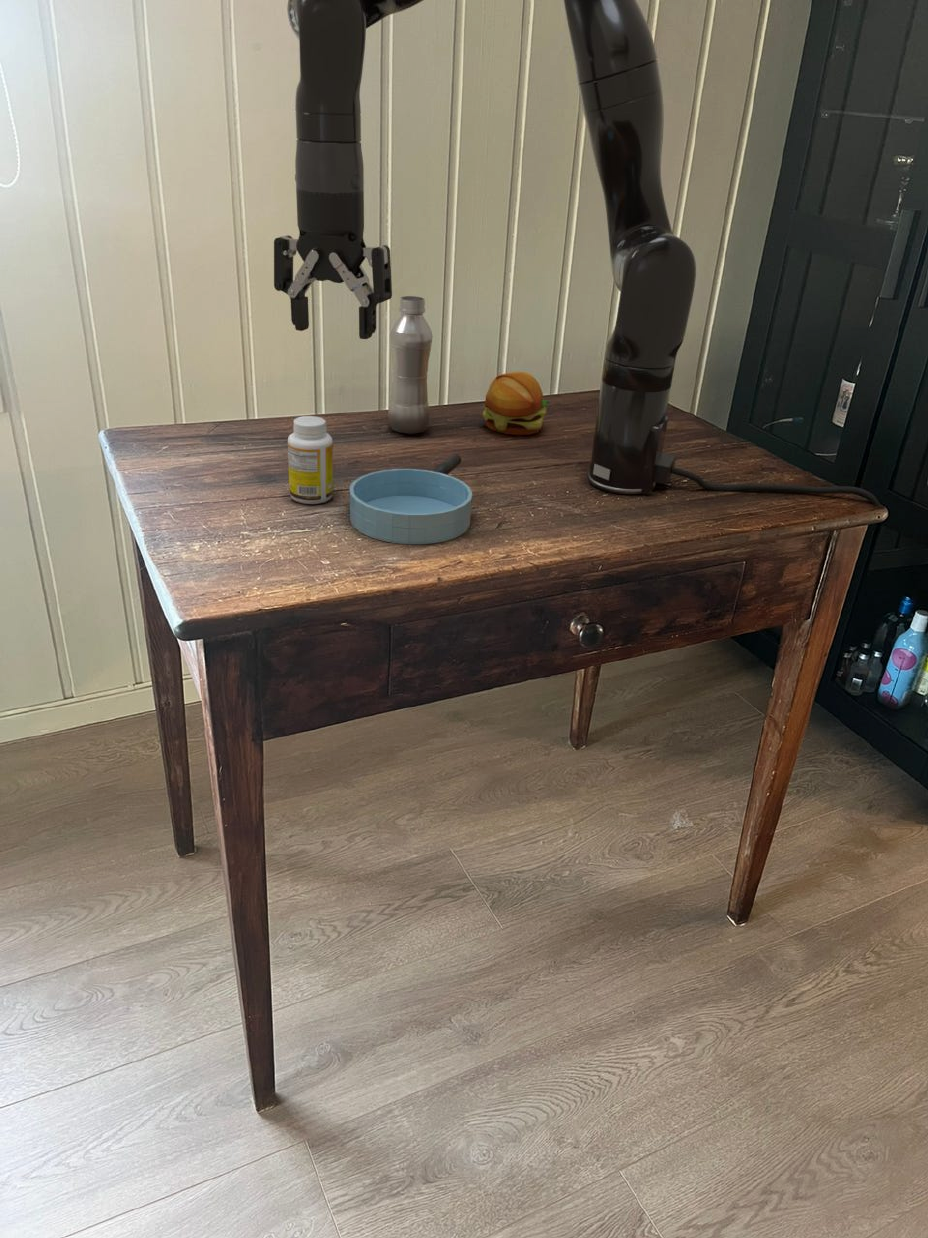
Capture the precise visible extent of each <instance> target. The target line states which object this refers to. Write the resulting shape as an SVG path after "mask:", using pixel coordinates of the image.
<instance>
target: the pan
mask: <svg viewBox="0 0 928 1238" xmlns="http://www.w3.org/2000/svg"><path fill="white" fill-rule="evenodd" d="M348 491H349V494H348V503H349V505H348V509H349V510H348V514H349V522H350V524H351V526H352V527H353V528H354V529H355V530H357V532H359V533H360V534H363V535H364V536H366V537H369V538H373V539H375V540H379V541H382V542H387V543H393V544H400V545H429V544H430V545H432V544H437V543H443V542H447V541H451V540H453V539H456V538H458V537H460V536H462V535H463V534H464V533H466V532H467V530H468V529H469V528H470V526H471V521H472V508H473V507H472V506H473V492H472V489H471V487H470V486H469V485H468V484H467V483H465V482H464V481H463V480H461V479H459V478H457V477H455V476H453V475H449V474H447V475H446V474H443V473H439V472H434V471H433V470H429V469H420V468H419V469H418V468H391V469H381V470H377V471H372V472H368V473H367V474H364V475H361V476H359V477H357V478H356V479H355V480H352V483H351V484H350V486H349V489H348Z"/></svg>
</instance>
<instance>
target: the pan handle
mask: <svg viewBox="0 0 928 1238" xmlns="http://www.w3.org/2000/svg"><path fill="white" fill-rule="evenodd" d="M461 463H462V457H461V455H459V454H458V453H454V454H451V455H450V456H449V457H448V458H446V459H445V460H444V461H442V463H440V464H439V465H438V466H436V467H435V468H434V469H432V471H434V472H439V473H443V474H446V475H449V474H450V473H451V472H453V470H454V469H456V468H457V467H458V466H459V465H461Z"/></svg>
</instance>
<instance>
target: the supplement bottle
mask: <svg viewBox="0 0 928 1238" xmlns="http://www.w3.org/2000/svg"><path fill="white" fill-rule="evenodd" d="M292 430H293V432H291V433H290V434H289V435H288V438H287V460H288V461H287V462H288V485H289V486H288V487H289V496H290V497H291V499H292V500H293V501H295V502H297V503H300V504H304V505H319V504H323V503H326V502H328V501H330V500H331V499H332V498H333V495H334V471H333V470H334V462H333V461H334V460H333V459H334V457H333V454H334V453H333V452H334V450H333V447H334V446H333V438H332V436H331V434H329V433H328V432H327V421H326V419H324V418H323V417H320V416H316V415H302V416H297V417H296V418H294V419H293V428H292Z"/></svg>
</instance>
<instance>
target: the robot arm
mask: <svg viewBox="0 0 928 1238" xmlns="http://www.w3.org/2000/svg"><path fill="white" fill-rule="evenodd" d="M424 1H425V0H288V1H287V7H286V8H287V9H286V11H287V19H288V23H289V26H290V28H291V31H292V32H293V33H292V34H294V36H295V37H296V38H297V40H298V43H299V44H298V45H299V48H298V49H299V73H300V75H299V80H298V83H297V85H296V90H295V97H294V98H295V101H294V102H295V103H294V104H295V105H294V107H295V112H294V113H295V133H296V134H295V135H296V136H295V137H296V147H295V148H296V149H295V158H294V164H295V165H294V169H295V170H294V171H295V174H294V180H295V190H296V191H295V193H296V194H295V195H296V197H295V198H296V221H297V228H298V231H299V233H298V234H299V235H298V238H294V237H292V236H291V235H289V234H287V235H282V236H278V237H276V238H275V239H274V240H273V287H274V289H275V290H276V291H277V292H282V293H284V294H286V295H287V296H288V297H289V300H290V320H291V324H292V326H294V329H295V330H296V331H299V332H303V331H305V330H308V329H309V326H310V315H309V312H310V311H309V296H306V293H307V291H308V290H309V289H310V287H311V286H312V285H313V283H314V282H315V281H317V282H325V281H330V282H332V283H335V284H343V283H344V284H345V285H346V287H347V289H348V290H349V291H350V292H352V293H353V294H354V296H355V297H356V300H357V301H358V303H359V304H360V306H358V336H359V337H358V338H359V339H360V340H368V339H371V338H372V336H373V334H374V333H376V331H377V306H378V304H381V303H384V302H386V301H389V300H391V299H392V297H393V283H392V264H391V263H392V262H391V248H390V247H389V246H388V245H387V244H384V245H379V246H367V245H366V243H365V240H364V232H365V188H364V187H365V185H364V184H365V183H364V182H365V176H364V175H365V170H364V169H365V167H364V157H363V150H362V149H363V148H362V115H361V114H362V111H361V84H362V80H363V79H362V78H363V70H364V62H365V53H366V52H365V51H366V50H365V49H366V39H367V38H366V36H367V29H368V28H370V27H372V26H373V25H375V24H377V23H378V22H380V21H381V20H383V19H385V18H386V17H389V16H391V15H394V14H398V13H401V12H404V11H406V10H409V9H411V8H413V7H415V6H417V5H418V4H420V3H422V2H424ZM563 5H564V12H565V18H566V23H567V30H568V34H569V38H570V39H569V40H570V44H571V45H570V46H571V49H572V55H573V61H574V69H575V75H576V80H577V83H578V84H577V87H578V92H579V96H580V103H581V107H582V113H583V116H584V121H585V126H586V129H587V134H588V139H589V143H590V147H591V152H592V155H593V159H594V163H595V167H596V171H597V173H598V178H599V182H600V185H601V189H602V193H603V200H604V206H605V213H606V224H607V231H608V232H607V235H608V245H609V257H610V258H609V259H610V261H609V262H610V270H611V275H612V279H613V282H614V284H615V286H616V288H617V290H618V291H619V293H620V294H619V300H618V307H617V314H616V320H615V325H614V328H613V330H612V332H611V334H609V335H608V337H607V339H606V344H605V352H604V361H603V369H602V375H601V383H600V390H599V398H598V403H597V404H598V405H597V412H596V419H595V427H594V436H593V443H592V450H591V458H590V462H589V463H590V464H589V470H588V474H587V480H588V482H589V483H590V484H591V485H592V486H593V487H595V488H598V489H600V490H602V491H606V492H610V493H614V494H619V495H620V494H621V495H646V496H650V495H651V493H652V491H653V490H654V489H655V488H656V485H657V484H662V485H667V483H668V482H669V480H670V478H671V477H672V474H673V475H675V476H679V477H682V478H686V479H689V480H692V481H694V482H695V483H696V484H697V485H698V486H699V487H701V489H705V490H708V491H714V492H739V491H740V492H743V491H745V492H746V491H766V492H789V493H790V492H791V493H804V494H817V495H818V494H819V495H825V494H827V495H828V494H855V495H857V496H861V497H863V498H865V499H867V501H869V502H870V503H871V504H872V505H876V506H879V505H881V503H880V502H879V500H878V498H877V497H876V496H875V495H874V494H873V493H871V492H870V491H868V490H866V489H864V488H861V487H857V486H848V485H847V486H846V485H844V486H843V485H841V486H808V485H795V484H772V483H771V484H770V483H741V484H740V483H739V484H715V483H711V482H707V481H705V480H704V478H702V477H700V475H698V474H696V473H693V472H691V471H688V470H685V469H682V468H678V467H675V465H676V457H677V454H672V453H665V452H663V450H664V445H665V439H666V435H667V427H668V422H669V417H668V416H667V414H668V413H667V412H668V407H669V402H670V401H669V400H670V394H671V388H672V383H673V377H674V371H675V366H676V365H675V364H676V360H677V354H678V352H679V350H680V348H681V346H682V345H683V342H684V339H685V336H686V333H687V332H686V331H687V327H688V322H689V318H690V312H691V308H692V303H693V298H694V293H695V288H696V287H695V286H696V279H697V263H696V262H697V261H696V258H695V254H694V252H693V250H692V248H691V247H690V246H689V245H688V243H687V242H685V240H683V239H682V238H680V237H678V236H676V235H675V234H674V232H673V230H672V226H671V223H670V219H669V214H668V210H667V206H666V201H665V197H664V192H663V185H662V167H661V166H662V152H663V142H664V141H663V140H664V122H665V119H664V118H665V113H664V112H665V111H664V98H663V96H664V95H663V89H662V81H661V75H660V69H659V63H658V56H657V51H656V46H655V42H654V38H653V35H652V33H651V30H650V27H649V25H648V22H647V20H646V18H645V15H644V14H643V11H642V10H641V8H640V6H639V3H638V1H637V0H563ZM296 254H298V255H299V257H300V258H301V260H302V262H303V263H302V265H300V268H299V269H298V271H297V273H296V274H295V276H294V257H295V256H296ZM365 259H367V262H368V265H369V266H370V267H371V269H372V285H371V283H370V278H369V276H368V275H367V273H366V271H365V270H364V268H363V266H362V264H363V263H364V261H365Z"/></svg>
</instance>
